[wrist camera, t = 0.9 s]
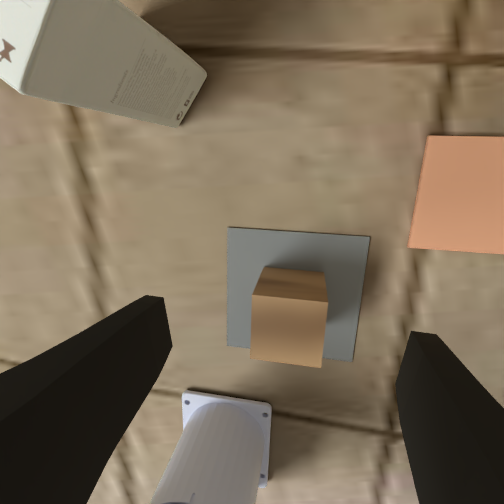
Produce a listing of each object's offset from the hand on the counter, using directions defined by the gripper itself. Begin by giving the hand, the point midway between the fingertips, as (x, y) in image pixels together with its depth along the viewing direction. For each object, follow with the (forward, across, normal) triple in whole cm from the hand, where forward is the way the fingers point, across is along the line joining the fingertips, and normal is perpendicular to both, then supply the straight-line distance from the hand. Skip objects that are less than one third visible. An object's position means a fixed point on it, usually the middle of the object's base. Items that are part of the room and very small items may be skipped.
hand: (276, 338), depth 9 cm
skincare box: (+15, +11, -8) cm, 20 cm away
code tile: (+12, +1, +7) cm, 14 cm away
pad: (+14, -10, 0) cm, 18 cm away
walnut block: (+12, +1, +7) cm, 14 cm away
